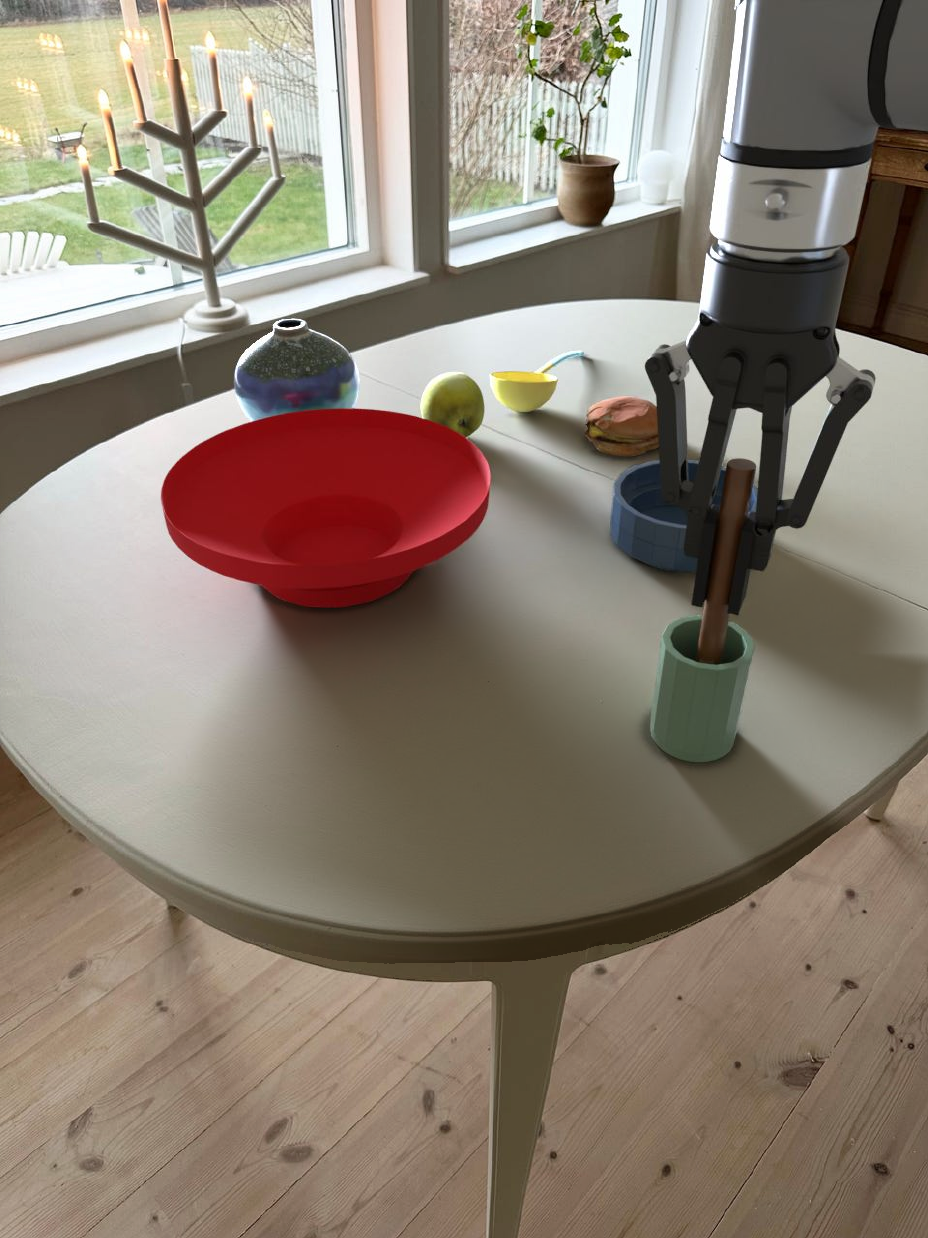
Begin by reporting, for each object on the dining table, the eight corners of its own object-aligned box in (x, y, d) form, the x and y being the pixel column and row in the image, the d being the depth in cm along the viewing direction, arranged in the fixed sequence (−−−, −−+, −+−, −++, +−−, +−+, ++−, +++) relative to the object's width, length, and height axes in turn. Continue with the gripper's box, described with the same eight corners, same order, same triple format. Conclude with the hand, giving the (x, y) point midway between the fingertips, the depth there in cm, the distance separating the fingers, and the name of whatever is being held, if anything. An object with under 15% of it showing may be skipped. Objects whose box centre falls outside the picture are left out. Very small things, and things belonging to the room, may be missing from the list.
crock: (742, 718, 73) (762, 627, 67) (724, 773, 68) (744, 679, 63) (662, 696, 75) (675, 606, 70) (639, 748, 70) (652, 655, 65)
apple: (471, 418, 120) (471, 358, 115) (494, 447, 113) (495, 384, 108) (413, 426, 118) (410, 366, 113) (433, 456, 111) (431, 393, 106)
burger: (675, 434, 115) (679, 399, 112) (648, 464, 108) (652, 427, 106) (601, 419, 119) (604, 384, 116) (571, 447, 112) (573, 411, 110)
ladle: (476, 412, 119) (479, 366, 117) (549, 385, 141) (553, 346, 139) (540, 421, 116) (543, 373, 113) (605, 392, 138) (609, 352, 135)
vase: (222, 423, 120) (203, 320, 112) (325, 394, 127) (314, 296, 119) (277, 465, 110) (261, 356, 102) (386, 431, 117) (378, 326, 109)
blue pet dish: (764, 521, 97) (774, 474, 94) (736, 591, 87) (746, 541, 84) (632, 495, 102) (637, 449, 99) (590, 559, 92) (594, 510, 89)
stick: (717, 695, 70) (761, 456, 59) (708, 721, 68) (751, 477, 56) (694, 689, 71) (732, 451, 59) (683, 715, 69) (721, 472, 57)
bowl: (164, 521, 99) (144, 435, 93) (431, 471, 108) (427, 389, 102) (206, 693, 76) (183, 593, 70) (540, 612, 85) (544, 517, 79)
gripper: (626, 248, 50) (599, 604, 64) (922, 274, 45) (823, 656, 58) (663, 217, 55) (630, 552, 69) (930, 238, 50) (837, 595, 64)
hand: (718, 599), depth 64 cm, fingers closed on stick, 2 cm apart
